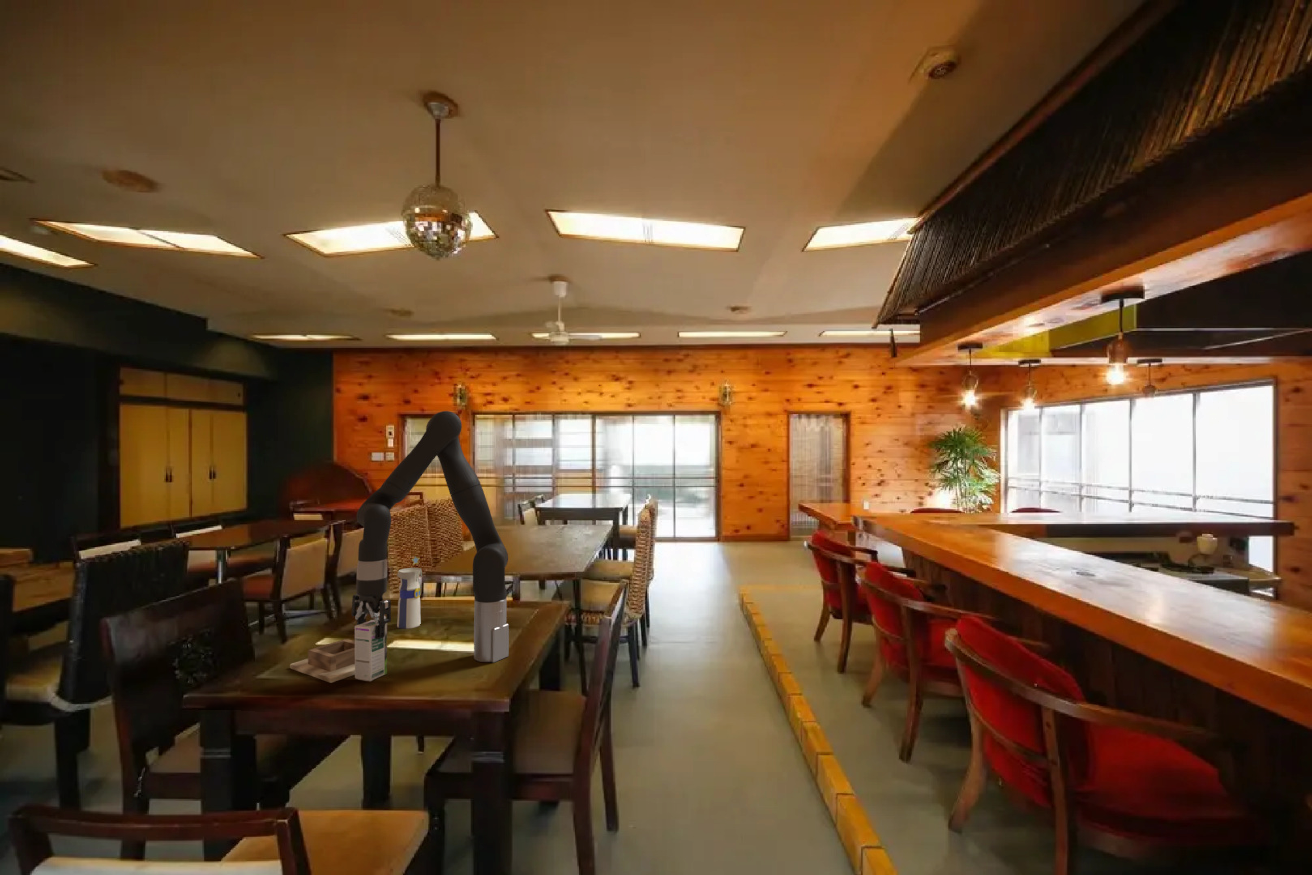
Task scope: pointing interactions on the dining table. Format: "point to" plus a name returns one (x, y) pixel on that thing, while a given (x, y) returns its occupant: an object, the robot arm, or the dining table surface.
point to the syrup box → (370, 652)
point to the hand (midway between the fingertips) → (370, 635)
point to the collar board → (329, 661)
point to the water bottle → (409, 597)
